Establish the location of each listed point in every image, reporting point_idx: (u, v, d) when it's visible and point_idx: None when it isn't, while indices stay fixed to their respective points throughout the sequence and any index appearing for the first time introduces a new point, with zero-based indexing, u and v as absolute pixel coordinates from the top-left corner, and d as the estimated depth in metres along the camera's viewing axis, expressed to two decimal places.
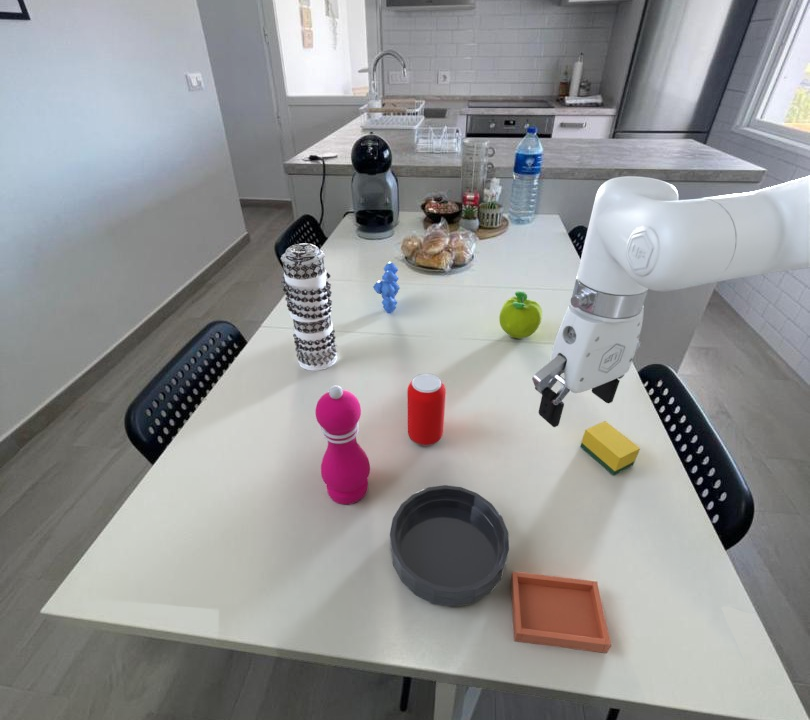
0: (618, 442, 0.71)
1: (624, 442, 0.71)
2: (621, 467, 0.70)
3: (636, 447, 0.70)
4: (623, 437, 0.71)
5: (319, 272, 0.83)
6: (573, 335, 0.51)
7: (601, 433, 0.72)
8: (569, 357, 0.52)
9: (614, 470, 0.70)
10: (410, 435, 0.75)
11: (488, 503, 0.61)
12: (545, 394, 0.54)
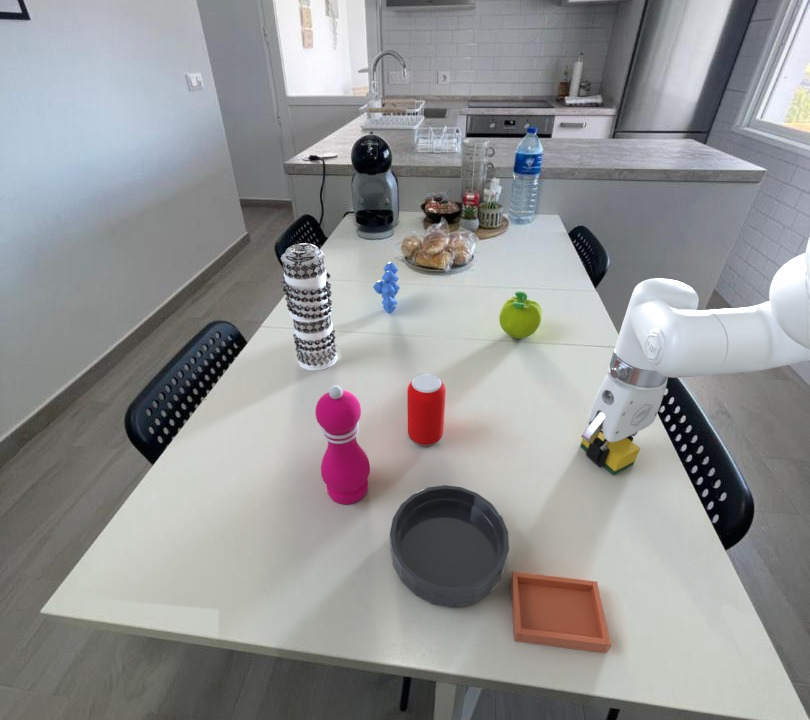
0: (618, 442, 0.71)
1: (624, 442, 0.71)
2: (621, 467, 0.70)
3: (636, 447, 0.70)
4: None
5: (319, 272, 0.83)
6: (611, 398, 0.63)
7: (601, 433, 0.72)
8: (607, 415, 0.64)
9: (614, 470, 0.70)
10: (410, 435, 0.75)
11: (488, 503, 0.61)
12: (596, 443, 0.67)
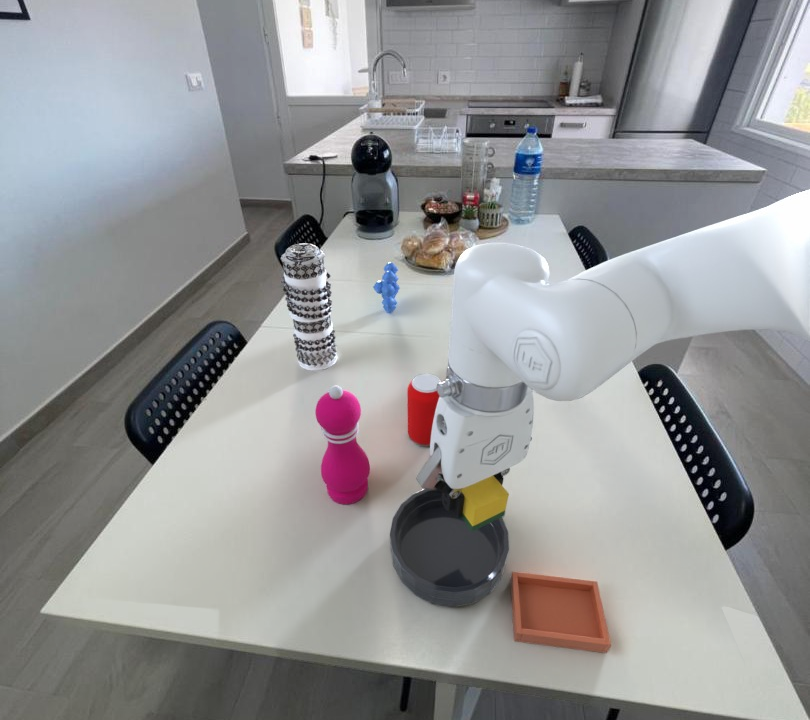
0: (481, 484, 0.50)
1: (489, 484, 0.50)
2: (483, 520, 0.49)
3: (503, 492, 0.49)
4: None
5: (319, 272, 0.83)
6: (446, 425, 0.42)
7: None
8: (443, 450, 0.43)
9: (472, 525, 0.49)
10: (410, 435, 0.75)
11: None
12: (438, 489, 0.46)
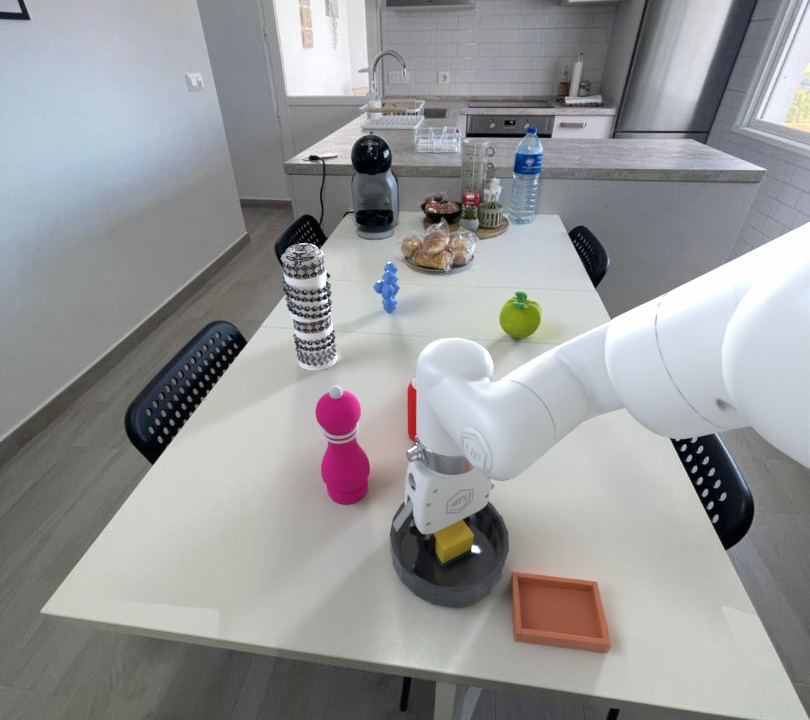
0: (450, 526, 0.57)
1: (457, 526, 0.58)
2: (451, 558, 0.57)
3: (469, 534, 0.57)
4: None
5: (319, 272, 0.83)
6: (416, 483, 0.50)
7: None
8: (414, 503, 0.51)
9: (442, 562, 0.57)
10: (410, 435, 0.75)
11: (488, 503, 0.61)
12: (412, 533, 0.54)
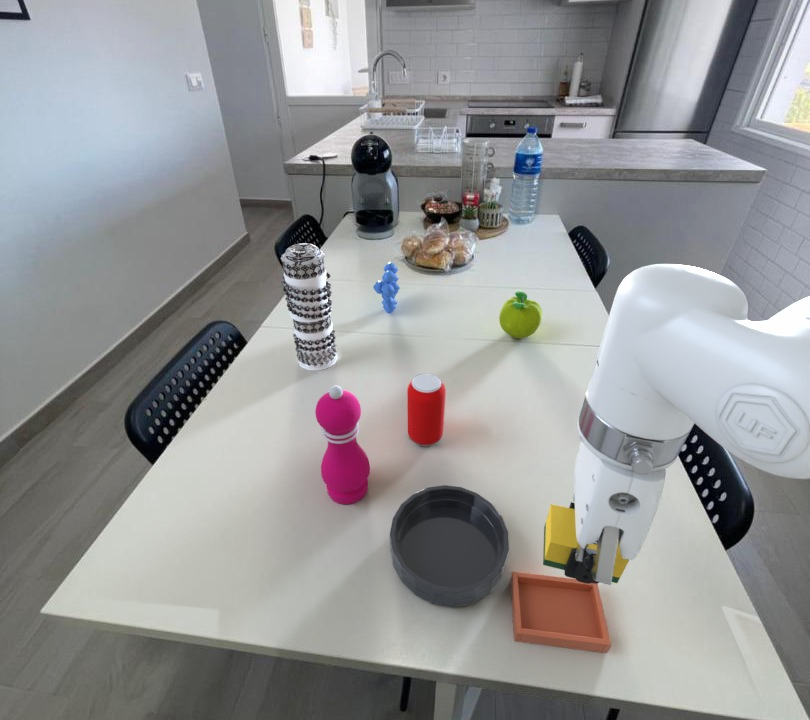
0: None
1: None
2: None
3: None
4: None
5: (319, 272, 0.83)
6: (628, 500, 0.34)
7: (570, 531, 0.43)
8: (629, 528, 0.35)
9: (618, 576, 0.43)
10: (410, 435, 0.75)
11: (488, 503, 0.61)
12: None
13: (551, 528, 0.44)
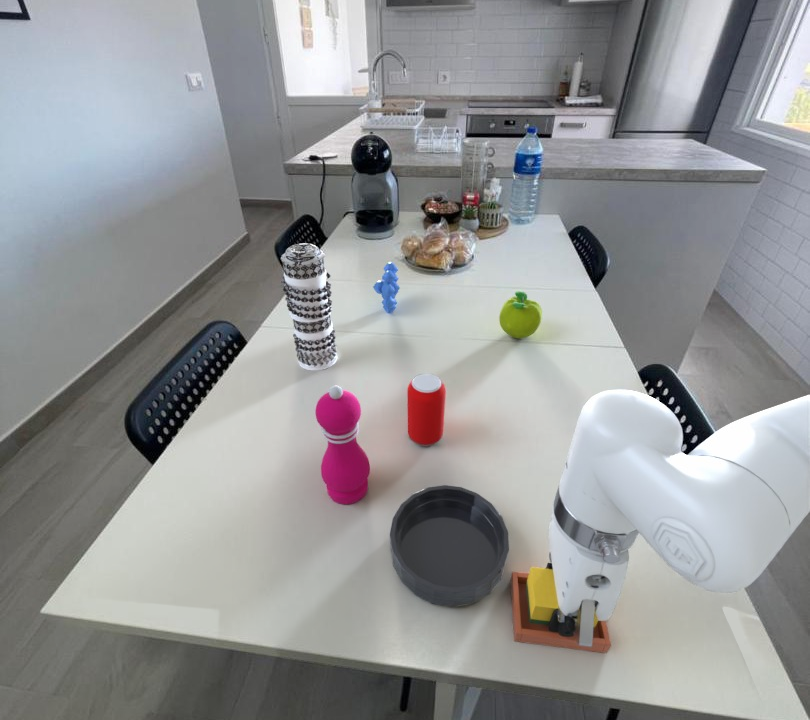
0: None
1: None
2: None
3: None
4: None
5: (319, 272, 0.83)
6: (600, 579, 0.40)
7: (550, 593, 0.50)
8: (602, 600, 0.41)
9: (594, 626, 0.49)
10: (410, 435, 0.75)
11: (488, 503, 0.61)
12: None
13: (534, 591, 0.50)
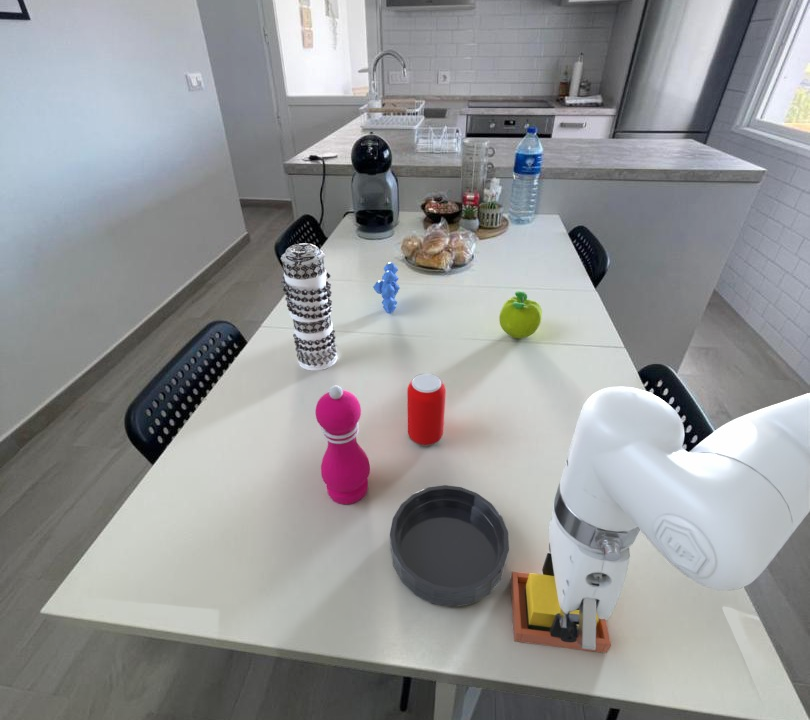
0: None
1: None
2: None
3: None
4: None
5: (319, 272, 0.83)
6: (601, 576, 0.40)
7: (548, 599, 0.50)
8: (603, 598, 0.41)
9: None
10: (410, 435, 0.75)
11: (488, 503, 0.61)
12: None
13: (532, 597, 0.51)
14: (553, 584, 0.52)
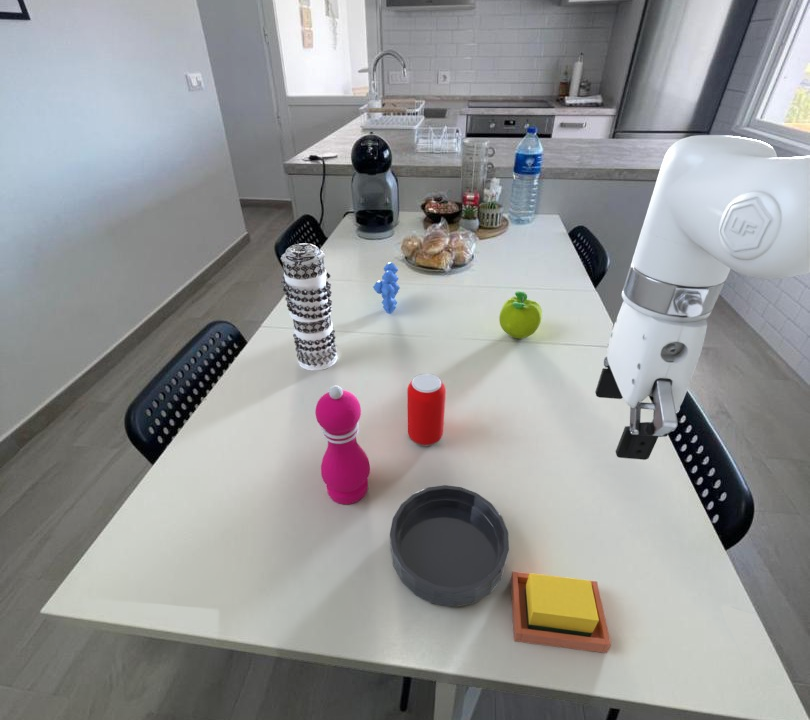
0: (572, 594, 0.51)
1: (574, 588, 0.51)
2: None
3: (588, 583, 0.52)
4: (566, 581, 0.52)
5: (319, 272, 0.83)
6: (676, 350, 0.39)
7: (548, 599, 0.50)
8: (677, 377, 0.40)
9: (591, 632, 0.50)
10: (410, 435, 0.75)
11: (488, 503, 0.61)
12: None
13: (532, 597, 0.51)
14: (553, 584, 0.52)
